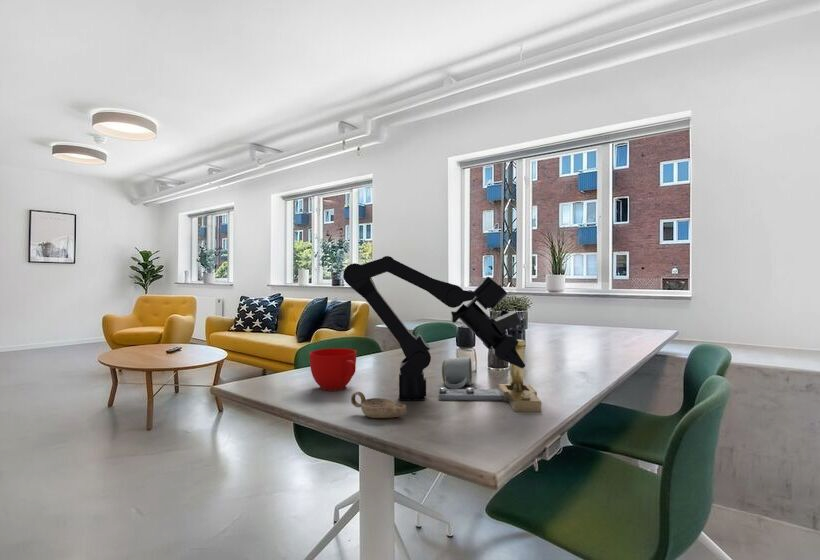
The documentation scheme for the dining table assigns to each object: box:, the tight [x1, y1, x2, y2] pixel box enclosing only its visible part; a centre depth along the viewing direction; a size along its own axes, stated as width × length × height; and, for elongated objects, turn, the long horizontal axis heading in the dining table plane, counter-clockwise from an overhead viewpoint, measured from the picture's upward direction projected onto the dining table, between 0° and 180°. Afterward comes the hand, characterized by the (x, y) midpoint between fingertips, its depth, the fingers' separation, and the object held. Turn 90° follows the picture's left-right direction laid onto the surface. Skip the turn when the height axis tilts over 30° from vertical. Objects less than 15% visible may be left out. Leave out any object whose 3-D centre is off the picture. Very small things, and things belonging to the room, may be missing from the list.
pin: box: [510, 339, 526, 391], centre depth 111 cm, size 4×4×13 cm
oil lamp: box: [350, 391, 407, 419], centre depth 96 cm, size 13×8×5 cm, turn 66°
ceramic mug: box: [441, 356, 473, 389], centre depth 124 cm, size 11×8×8 cm
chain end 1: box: [438, 386, 526, 403], centre depth 111 cm, size 24×8×2 cm, turn 87°
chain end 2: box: [498, 383, 542, 413], centre depth 107 cm, size 8×16×3 cm, turn 177°
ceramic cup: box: [309, 347, 357, 391], centre depth 120 cm, size 13×17×10 cm
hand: (522, 365), depth 111 cm, fingers closed on pin, 3 cm apart
